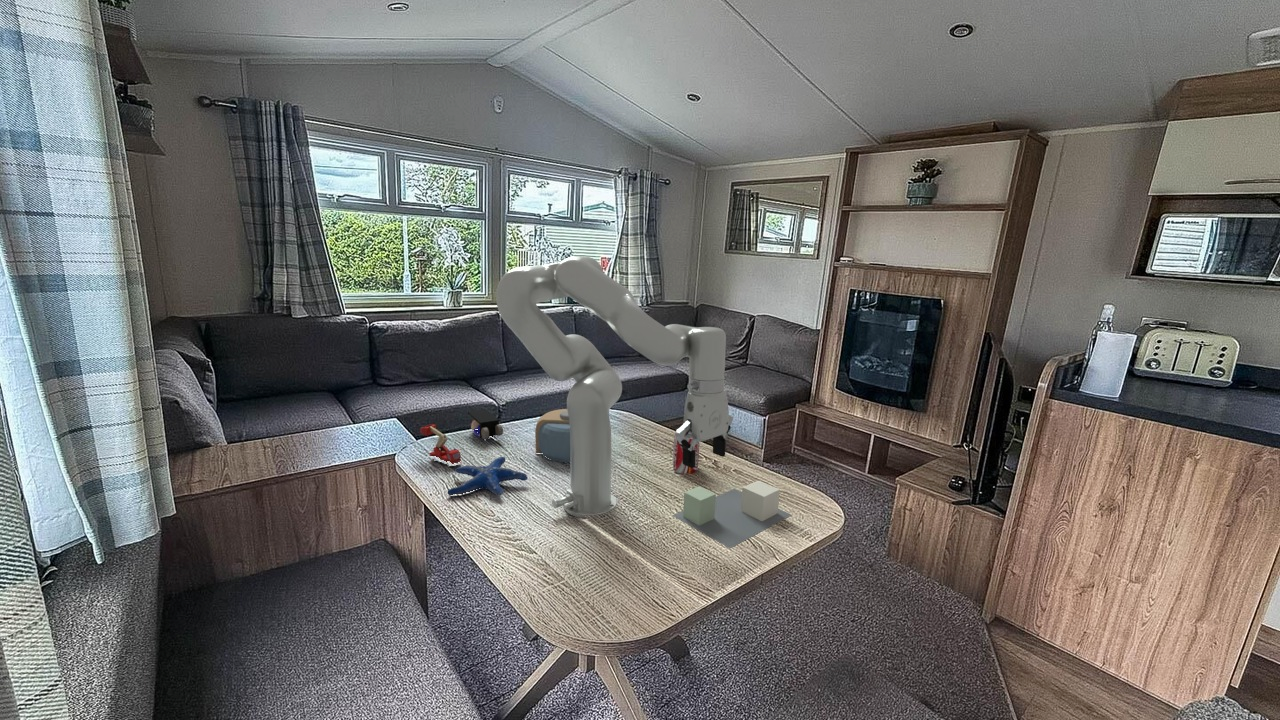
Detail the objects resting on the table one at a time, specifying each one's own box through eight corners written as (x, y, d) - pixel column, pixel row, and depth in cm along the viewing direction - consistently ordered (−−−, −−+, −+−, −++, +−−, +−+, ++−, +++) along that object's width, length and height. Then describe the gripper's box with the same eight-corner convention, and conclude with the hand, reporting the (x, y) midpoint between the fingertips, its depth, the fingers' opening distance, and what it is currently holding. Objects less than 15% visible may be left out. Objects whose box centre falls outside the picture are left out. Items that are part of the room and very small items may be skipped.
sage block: (699, 525, 115) (700, 500, 114) (683, 516, 119) (684, 492, 117) (714, 518, 118) (715, 494, 117) (698, 510, 122) (699, 486, 121)
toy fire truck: (453, 469, 143) (451, 435, 141) (421, 457, 150) (419, 425, 148) (463, 465, 146) (461, 432, 144) (431, 454, 153) (429, 422, 151)
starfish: (431, 486, 133) (430, 468, 132) (496, 466, 146) (496, 449, 145) (468, 513, 120) (467, 493, 119) (536, 488, 133) (535, 469, 132)
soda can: (689, 479, 140) (691, 437, 138) (667, 472, 144) (669, 431, 142) (702, 471, 146) (704, 430, 143) (681, 464, 150) (683, 424, 147)
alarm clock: (567, 435, 171) (567, 399, 169) (615, 449, 160) (616, 412, 157) (523, 452, 156) (522, 413, 153) (572, 470, 144) (572, 428, 142)
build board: (729, 552, 107) (732, 521, 105) (672, 519, 119) (673, 490, 118) (791, 518, 121) (794, 490, 119) (734, 492, 133) (735, 466, 132)
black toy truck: (504, 446, 164) (486, 427, 176) (505, 423, 162) (486, 406, 173) (484, 450, 160) (466, 431, 171) (484, 427, 158) (466, 409, 169)
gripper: (690, 395, 104) (688, 476, 107) (745, 382, 115) (742, 455, 118) (664, 388, 109) (663, 465, 113) (719, 375, 120) (717, 446, 124)
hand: (704, 460), depth 115 cm, fingers open, 9 cm apart
